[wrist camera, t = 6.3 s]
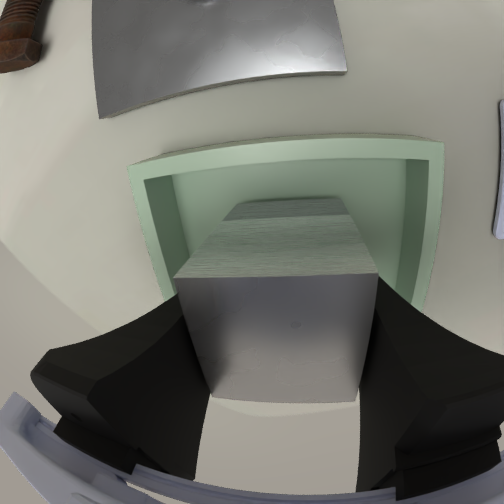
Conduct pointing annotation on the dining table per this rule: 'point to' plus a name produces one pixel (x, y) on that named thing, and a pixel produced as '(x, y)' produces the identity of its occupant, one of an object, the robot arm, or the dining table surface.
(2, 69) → the bolt
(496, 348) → the dining table surface
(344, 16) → the dining table surface
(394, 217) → the parts tray
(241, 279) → the grey metal block
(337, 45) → the stud plate
